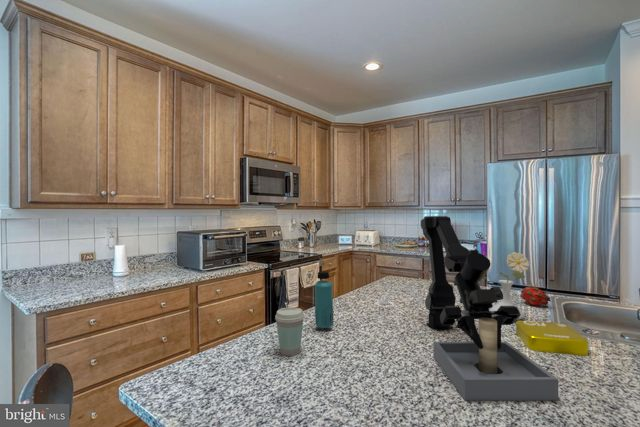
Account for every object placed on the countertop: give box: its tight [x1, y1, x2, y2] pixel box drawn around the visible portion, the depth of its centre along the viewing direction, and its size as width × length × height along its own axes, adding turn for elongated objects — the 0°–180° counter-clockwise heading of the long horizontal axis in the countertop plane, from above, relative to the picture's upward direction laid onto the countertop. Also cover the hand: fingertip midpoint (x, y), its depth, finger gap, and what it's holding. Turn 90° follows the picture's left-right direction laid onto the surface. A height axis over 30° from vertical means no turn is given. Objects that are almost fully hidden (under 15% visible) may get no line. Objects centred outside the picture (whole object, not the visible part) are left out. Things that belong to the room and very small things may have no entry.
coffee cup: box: [274, 306, 305, 357], centre depth 95 cm, size 8×8×12 cm
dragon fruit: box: [519, 285, 552, 308], centre depth 137 cm, size 8×8×12 cm
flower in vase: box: [489, 251, 530, 321], centre depth 122 cm, size 13×11×25 cm
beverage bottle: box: [314, 270, 334, 329], centre depth 113 cm, size 6×7×20 cm
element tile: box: [515, 320, 589, 357], centre depth 99 cm, size 15×15×5 cm
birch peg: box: [478, 318, 497, 374], centre depth 80 cm, size 4×4×13 cm
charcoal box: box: [433, 341, 559, 401], centre depth 80 cm, size 20×20×4 cm
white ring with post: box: [375, 294, 395, 308], centre depth 142 cm, size 9×8×4 cm
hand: (490, 348), depth 78 cm, fingers closed on birch peg, 4 cm apart
